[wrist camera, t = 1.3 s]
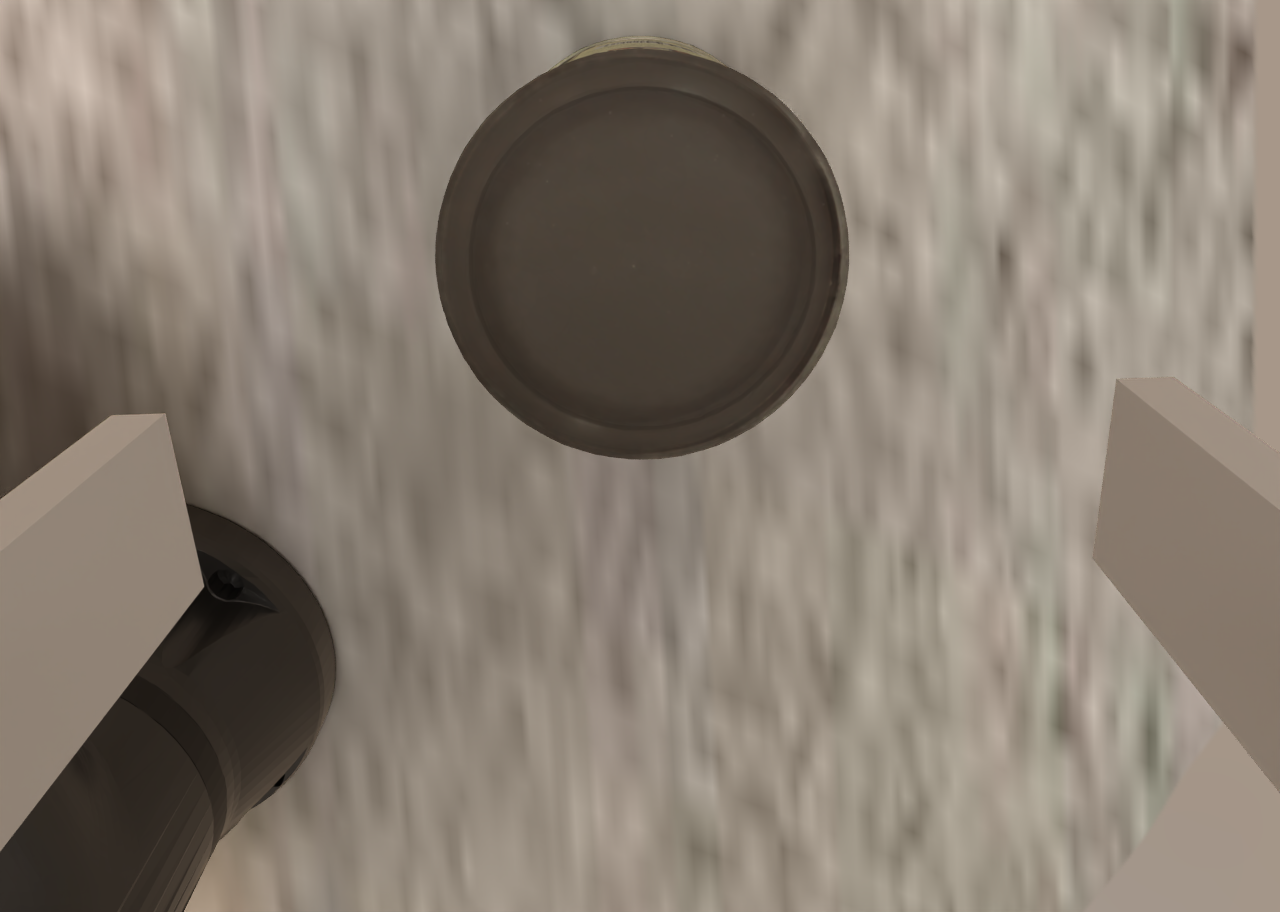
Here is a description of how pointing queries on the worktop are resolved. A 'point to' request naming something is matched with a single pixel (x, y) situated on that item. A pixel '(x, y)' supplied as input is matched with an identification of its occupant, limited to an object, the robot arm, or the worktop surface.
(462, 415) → the worktop surface
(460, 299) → the coffee can
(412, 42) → the worktop surface
